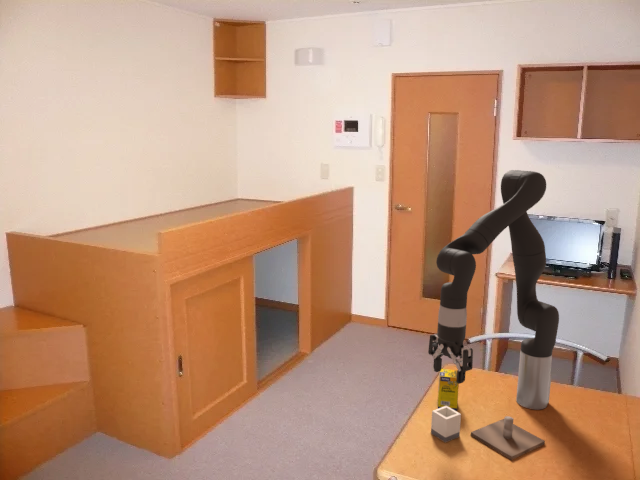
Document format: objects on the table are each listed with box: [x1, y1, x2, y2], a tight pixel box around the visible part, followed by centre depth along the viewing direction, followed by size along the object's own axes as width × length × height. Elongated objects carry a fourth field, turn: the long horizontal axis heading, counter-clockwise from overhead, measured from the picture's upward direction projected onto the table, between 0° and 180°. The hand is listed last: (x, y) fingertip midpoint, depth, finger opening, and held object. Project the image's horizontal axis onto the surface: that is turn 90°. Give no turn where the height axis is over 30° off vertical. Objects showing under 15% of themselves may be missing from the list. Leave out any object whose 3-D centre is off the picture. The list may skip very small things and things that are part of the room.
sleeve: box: [430, 406, 462, 443], centre depth 157 cm, size 6×6×7 cm
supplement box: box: [437, 368, 460, 412], centre depth 174 cm, size 6×6×11 cm
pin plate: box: [470, 415, 546, 461], centre depth 155 cm, size 14×14×6 cm
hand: (448, 376), depth 154 cm, fingers open, 8 cm apart
